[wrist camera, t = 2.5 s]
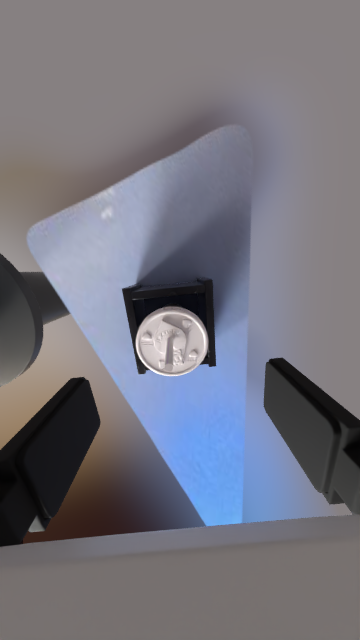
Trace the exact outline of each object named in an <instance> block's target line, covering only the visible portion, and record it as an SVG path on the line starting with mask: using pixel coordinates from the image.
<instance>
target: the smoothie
mask: <svg viewBox="0 0 360 640" xmlns="http://www.w3.org/2000/svg"><path fill="white" fill-rule="evenodd" d="M136 349H137V353H138V355H139V357H140V359H141V361H142V362H143V363H144V364H145V365H146V366H147V367H148V368H149V369H150V370H152V371H154V372H156V373H158V374H161V375H165V376H179V375H183V374H186V373H188V372H190V371H192V370H194V369H195V368H196V367H197V366H199V364H200V363H201V362H202V361H203V359H204V358H205V356H206V353H207V350H208V335H207V332H206V329H205V327H204V324H203V322H202V321H201V320H200V319H199V318H198V317H197V315H195V314H194V313H192V312H191V311H189V310H187V309H184V308H183V307H181V306H180V305H178V304H175V303H171V304H167V305H165V306H164V307H163V308H160V309H158V310H156V311H154V312H152V313H151V314H149V315H148V316H147V317H146V318H145V319H144V320H143V322H142V324H141V325H140V327H139V330H138V333H137V336H136Z"/></svg>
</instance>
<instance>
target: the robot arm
mask: <svg viewBox="0 0 360 640" xmlns="http://www.w3.org/2000/svg"><path fill="white" fill-rule="evenodd" d="M264 408H265V410H266V413H267V414H268V416H269V417H270V419H271V420H272V422H273V423H274V425H275V427H276V428H277V430H278V431H279V433H280V434H281V436H282V437H283V439H284V441H285V442H286V444H287V445H288V447H289V448H290V450H291V452H292V453H293V455H294V456H295V458H296V459H297V461H298V463H299V464H300V466H301V467H302V469H303V470H304V472H305V474H306V475H307V477H308V478H309V480H310V481H311V483H312V484H313V486H314V487H315V489H316V490H317V491H318V492H320V493H323V495H324V497H325V498H326V499H327V501H328V503H329V504H340V503H345V504H346V505H347V507H348V508H349V510H350V511H351V512H352V515H345V516H328V517H312V518H301V519H289V520H277V521H265V522H253V523H241V524H229V525H218V526H207V527H197V528H185V529H174V530H163V531H152V532H141V533H130V534H120V535H109V536H100V537H90V538H79V539H68V540H59V541H49V542H39V543H29V544H23V538H24V536H25V535H26V533H27V531H28V530H29V531H30V532H35V531H44V530H45V529H46V527H47V525H48V524H49V522H50V520H51V518H52V517H54V516H55V515H56V513H57V512H58V510H59V508H60V506H61V504H62V502H63V500H64V498H65V496H66V494H67V492H68V490H69V488H70V486H71V484H72V482H73V480H74V478H75V476H76V474H77V471H78V470H79V467H80V465H81V463H82V461H83V459H84V457H85V455H86V453H87V451H88V449H89V447H90V445H91V443H92V441H93V439H94V437H95V435H96V433H97V431H98V429H99V427H100V418H99V414H98V411H97V407H96V404H95V400H94V397H93V394H92V390H91V387H90V383H89V381H88V380H86V379H85V378H84V377H79V378H72V379H70V380H69V381H68V382H67V383H66V384H65V385H64V386H63V387H62V388H61V389H60V390H59V391H58V392H57V393H56V394H55V395H54V396H53V397H52V398H51V399H50V400H49V401H48V402H47V403H46V404H45V405H44V406H43V407H42V408H41V409H40V411H38V413H36V414H35V415H34V417H32V418H31V420H30V421H29V422H28V423H27V424H26V425H25V426H24V427H23V428H22V429H21V430H20V431H19V432H18V433H17V434H16V435H15V436H14V437H13V438H12V439H11V440H10V441H9V442H8V443H7V444H6V445H5V446H4V447H3V448H2V449H1V450H0V640H360V420H359V419H357V418H356V417H355V416H354V415H352V414H351V413H350V412H349V411H348V410H346V409H345V408H344V407H343V406H341V405H340V404H339V403H338V402H336V401H335V400H334V399H333V398H331V397H330V396H329V395H328V394H327V393H325V392H324V391H323V390H322V389H320V388H319V387H318V386H317V385H315V384H314V383H313V382H312V381H310V380H309V379H308V378H307V377H306V376H304V375H303V374H302V373H301V372H299V371H298V370H297V369H296V368H295V367H293V366H292V365H291V364H290V363H288V362H287V361H286V360H285V359H283V358H274V359H270V360H269V362H267V363H266V371H265V389H264Z"/></svg>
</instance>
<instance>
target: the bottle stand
mask: <svg viewBox="0 0 360 640" xmlns="http://www.w3.org/2000/svg"><path fill="white" fill-rule="evenodd" d="M122 291H123V297H124V302H125V307H126V312H127V317H128V322H129V328H130V333H131V338H132V343H133V348H134V354H135V359H136V364H137V369H138V374H145V373H146V370H150V369H149V368H148V367H147V366H146V365H145V364H144V363H143V362H142V361H141V359H140V357H139V355H138V353H137V349H136V336H137V333H138V330H139V327H140V325H141V324H142V322H143V320H144V319H145V318H146V311H145V305H144V299H146V298H156V297H166V296H175V295H185V294H195V293H198V308H199V319H200V320H201V321H202V322H203V324H204V327H205V329H206V332H207V335H208V350H207V353H206V356H205V358H204V359H203V361H202V362H201V363H200V364H199V365H201V364H208V365H209V367H212V366H216V355H215V331H214V306H213V282H212V280H211V279H207V278H197V281H193V282H184V283H174V284H164V285H154V286H144V287H142V286H141V284H135V285H132V286H129V287H126V288H123V289H122Z"/></svg>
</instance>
